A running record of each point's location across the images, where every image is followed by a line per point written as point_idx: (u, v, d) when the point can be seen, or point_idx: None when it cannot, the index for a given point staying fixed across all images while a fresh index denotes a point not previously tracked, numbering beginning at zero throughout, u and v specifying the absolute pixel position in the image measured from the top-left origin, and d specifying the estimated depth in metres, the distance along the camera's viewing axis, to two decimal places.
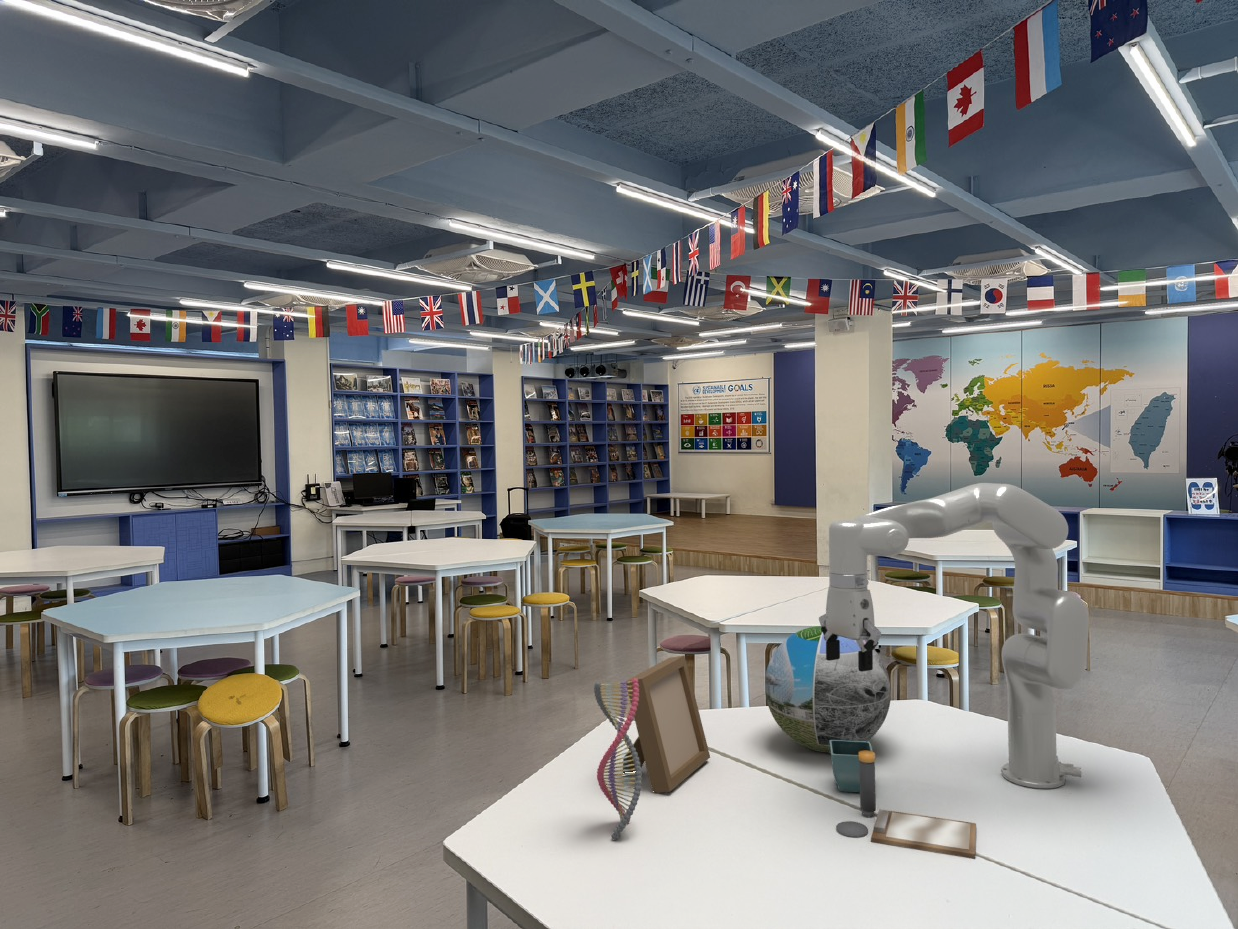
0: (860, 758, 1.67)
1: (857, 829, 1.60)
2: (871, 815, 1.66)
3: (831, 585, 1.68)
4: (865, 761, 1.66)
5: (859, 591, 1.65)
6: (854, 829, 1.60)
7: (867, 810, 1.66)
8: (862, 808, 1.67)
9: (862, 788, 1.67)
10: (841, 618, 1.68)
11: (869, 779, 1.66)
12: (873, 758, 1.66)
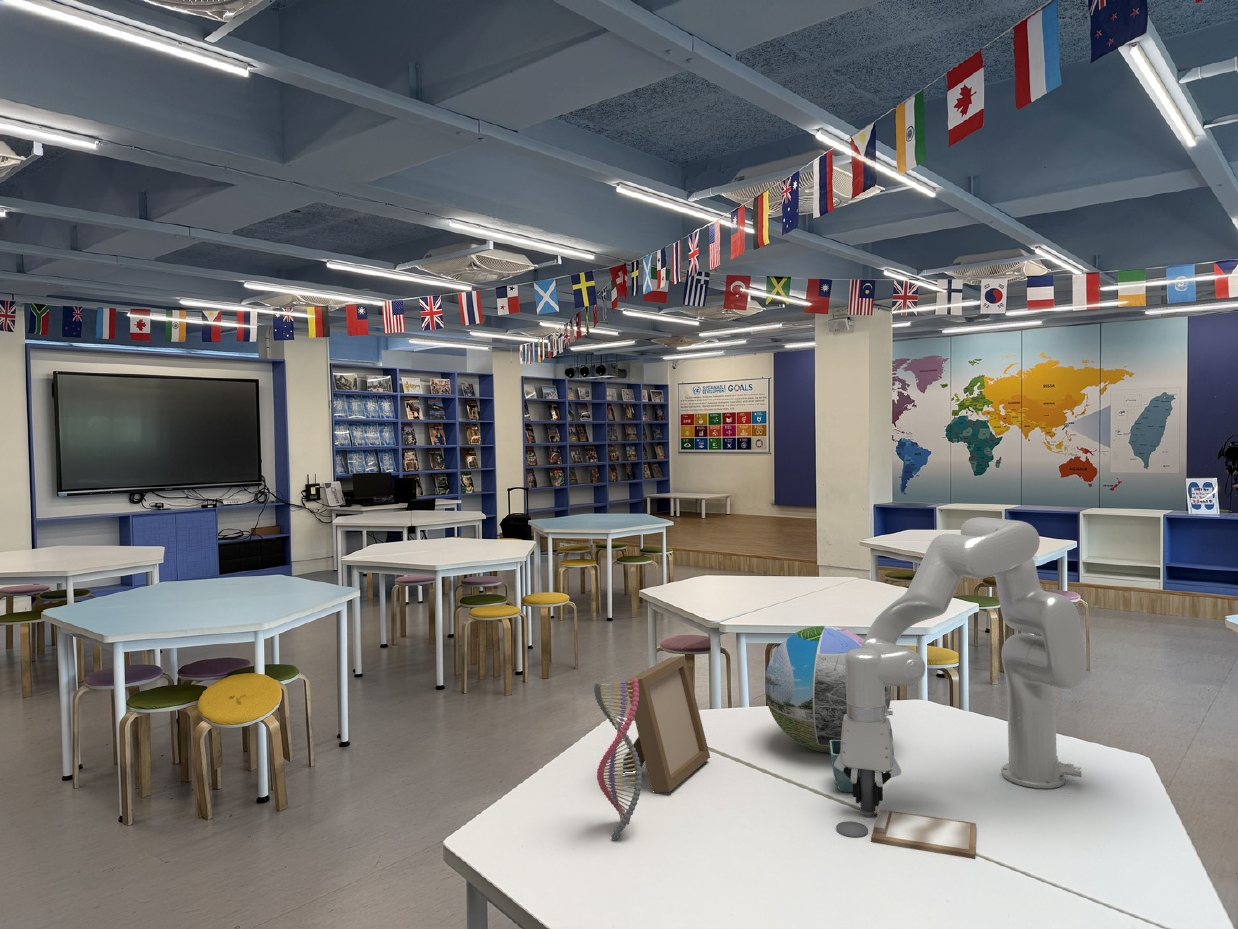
0: None
1: (857, 829, 1.60)
2: (871, 815, 1.66)
3: (858, 720, 1.64)
4: None
5: (886, 721, 1.65)
6: (854, 829, 1.60)
7: (867, 810, 1.66)
8: (862, 808, 1.67)
9: (862, 788, 1.67)
10: (868, 752, 1.65)
11: (869, 779, 1.66)
12: None
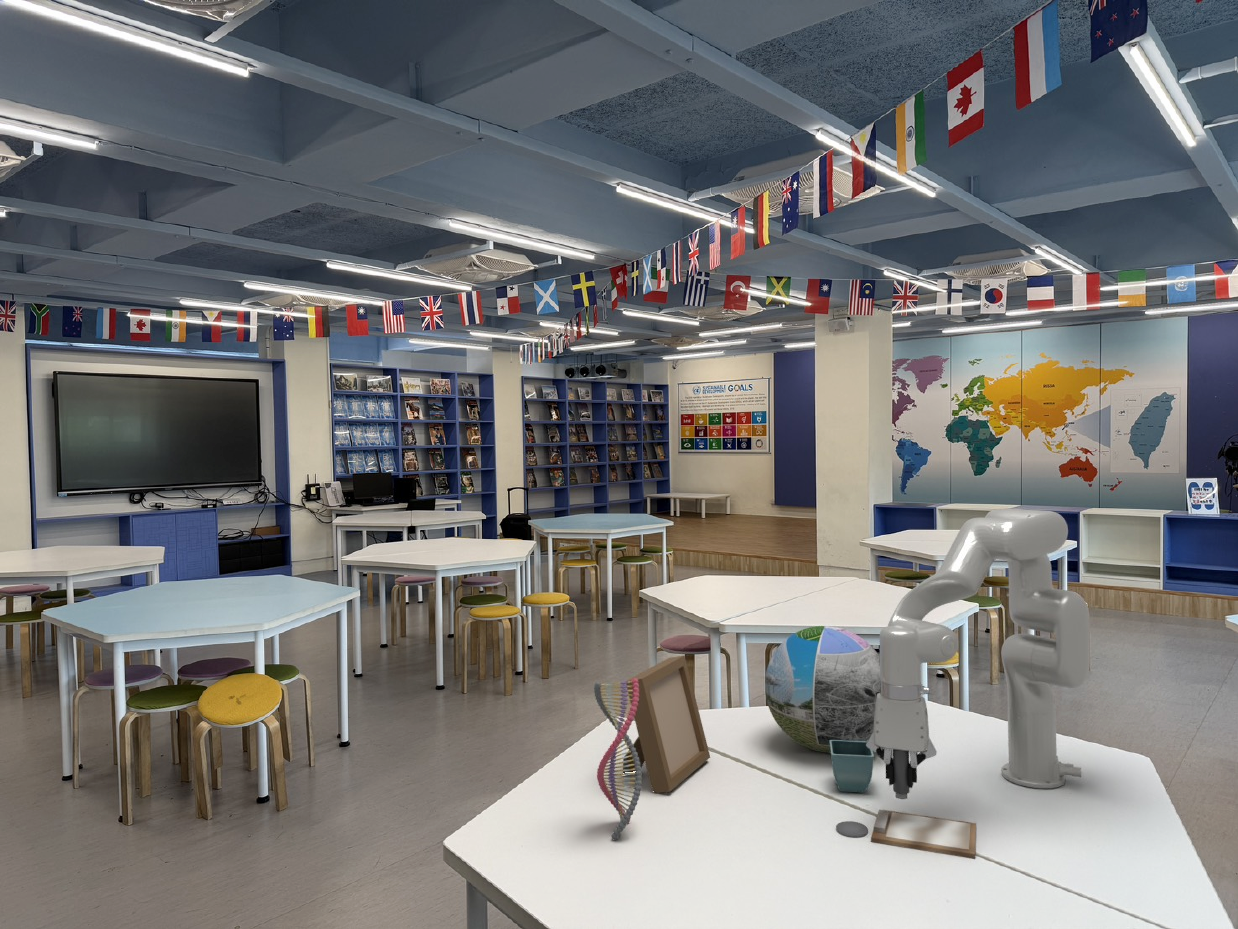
0: None
1: (857, 829, 1.60)
2: (904, 797, 1.61)
3: (893, 698, 1.59)
4: None
5: (921, 700, 1.60)
6: (854, 829, 1.60)
7: (900, 792, 1.61)
8: (895, 790, 1.62)
9: (895, 770, 1.61)
10: (903, 731, 1.60)
11: (903, 759, 1.61)
12: None
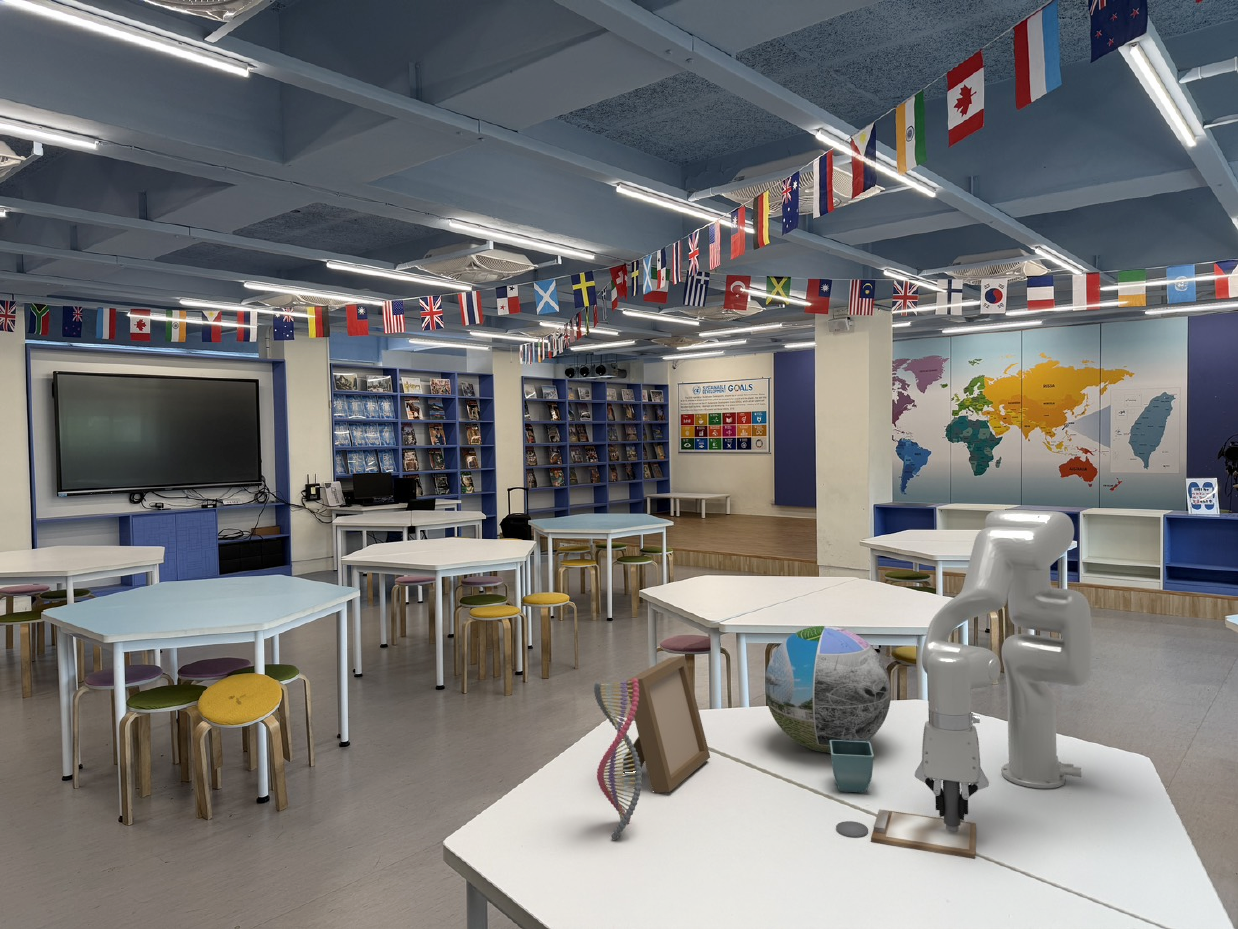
0: None
1: (857, 829, 1.60)
2: (956, 830, 1.56)
3: (943, 728, 1.53)
4: None
5: (972, 730, 1.54)
6: (854, 829, 1.60)
7: (952, 824, 1.55)
8: (946, 822, 1.56)
9: (946, 801, 1.56)
10: (954, 762, 1.54)
11: (954, 791, 1.55)
12: None
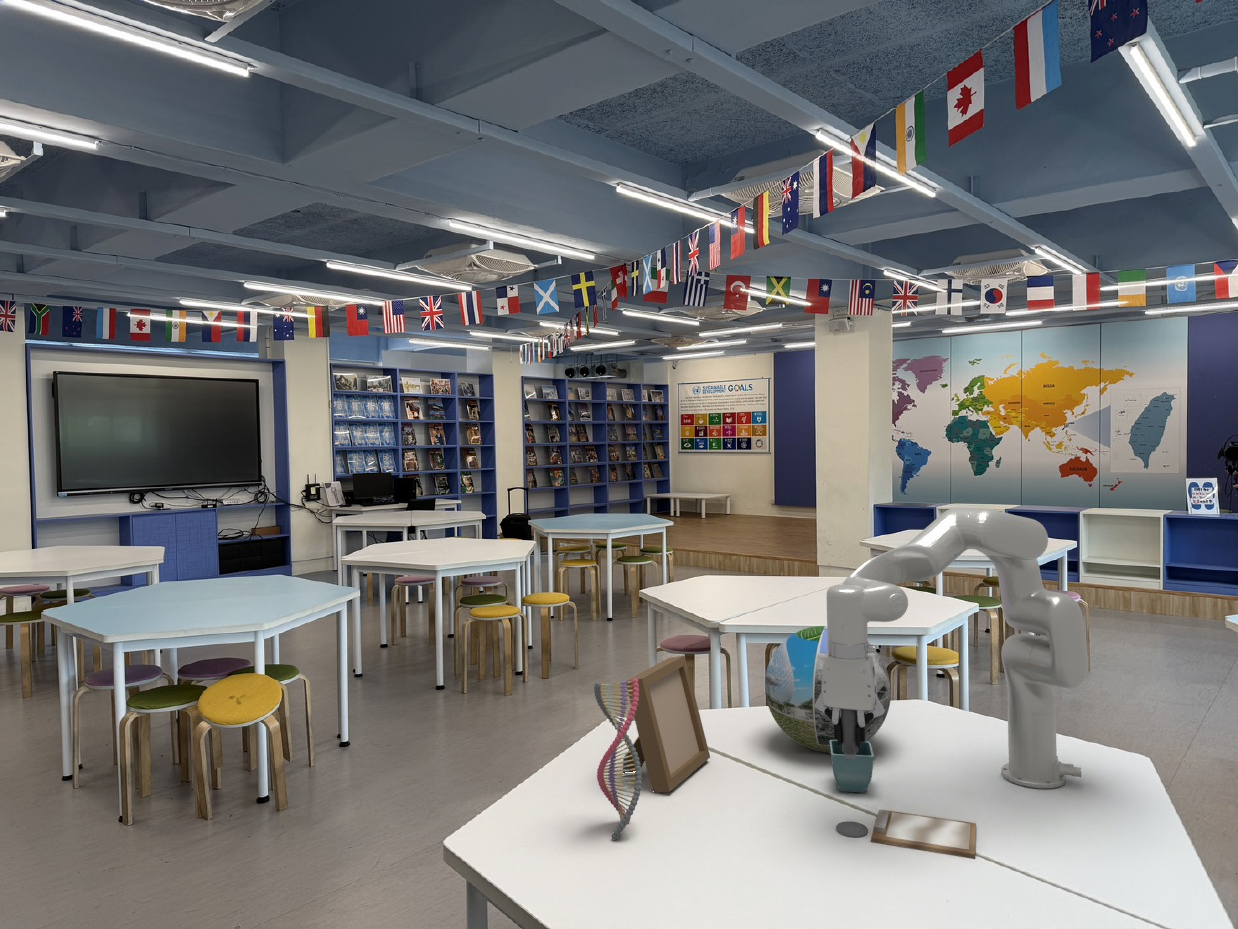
0: None
1: (857, 829, 1.60)
2: (853, 757, 1.59)
3: (840, 657, 1.57)
4: None
5: (868, 659, 1.58)
6: (854, 829, 1.60)
7: (849, 752, 1.59)
8: (844, 750, 1.60)
9: (843, 730, 1.60)
10: (850, 690, 1.58)
11: (851, 719, 1.59)
12: None
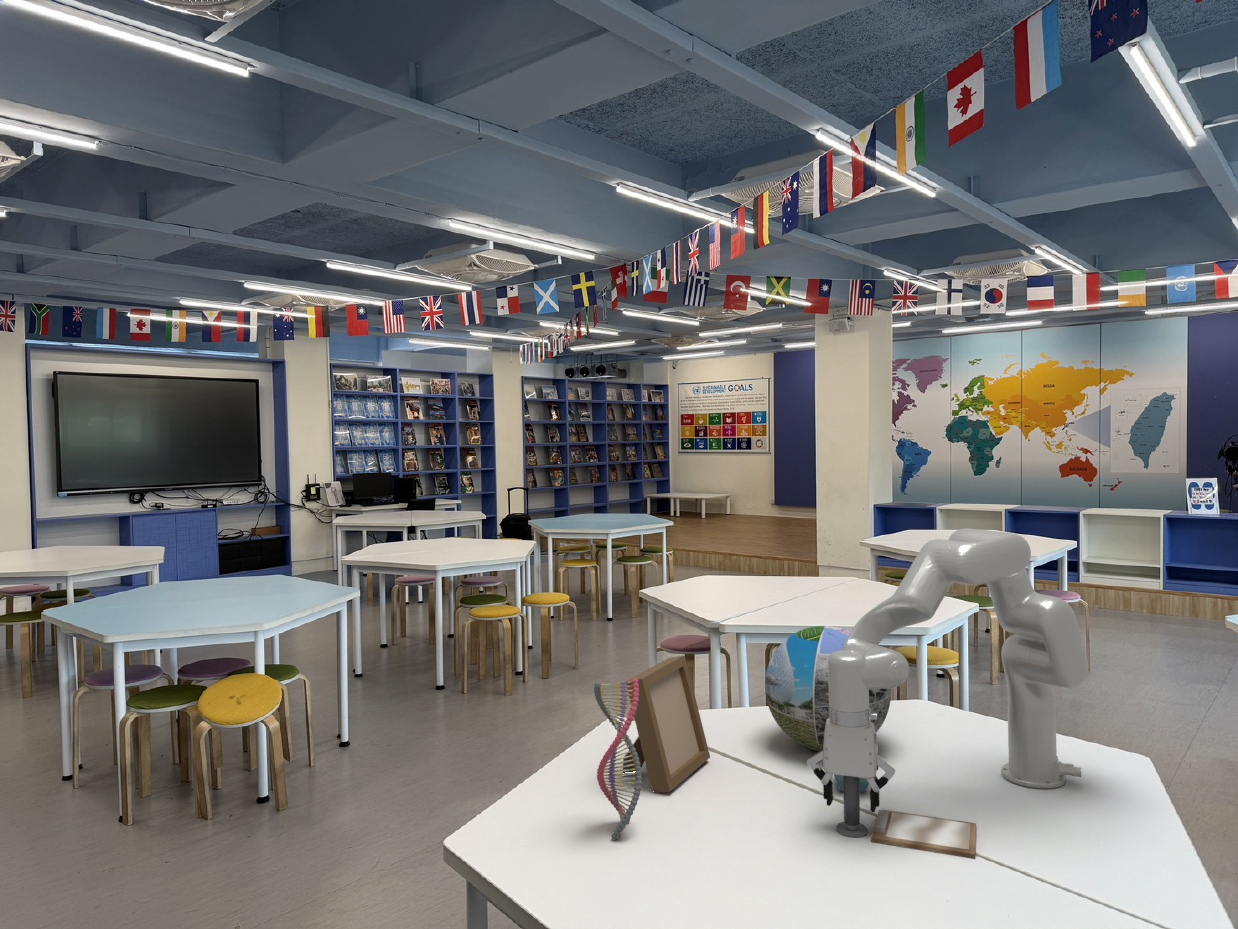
0: None
1: None
2: (855, 829, 1.60)
3: (841, 725, 1.57)
4: None
5: (870, 726, 1.58)
6: None
7: (851, 824, 1.59)
8: (845, 821, 1.60)
9: (846, 801, 1.60)
10: (851, 758, 1.58)
11: (853, 791, 1.59)
12: None
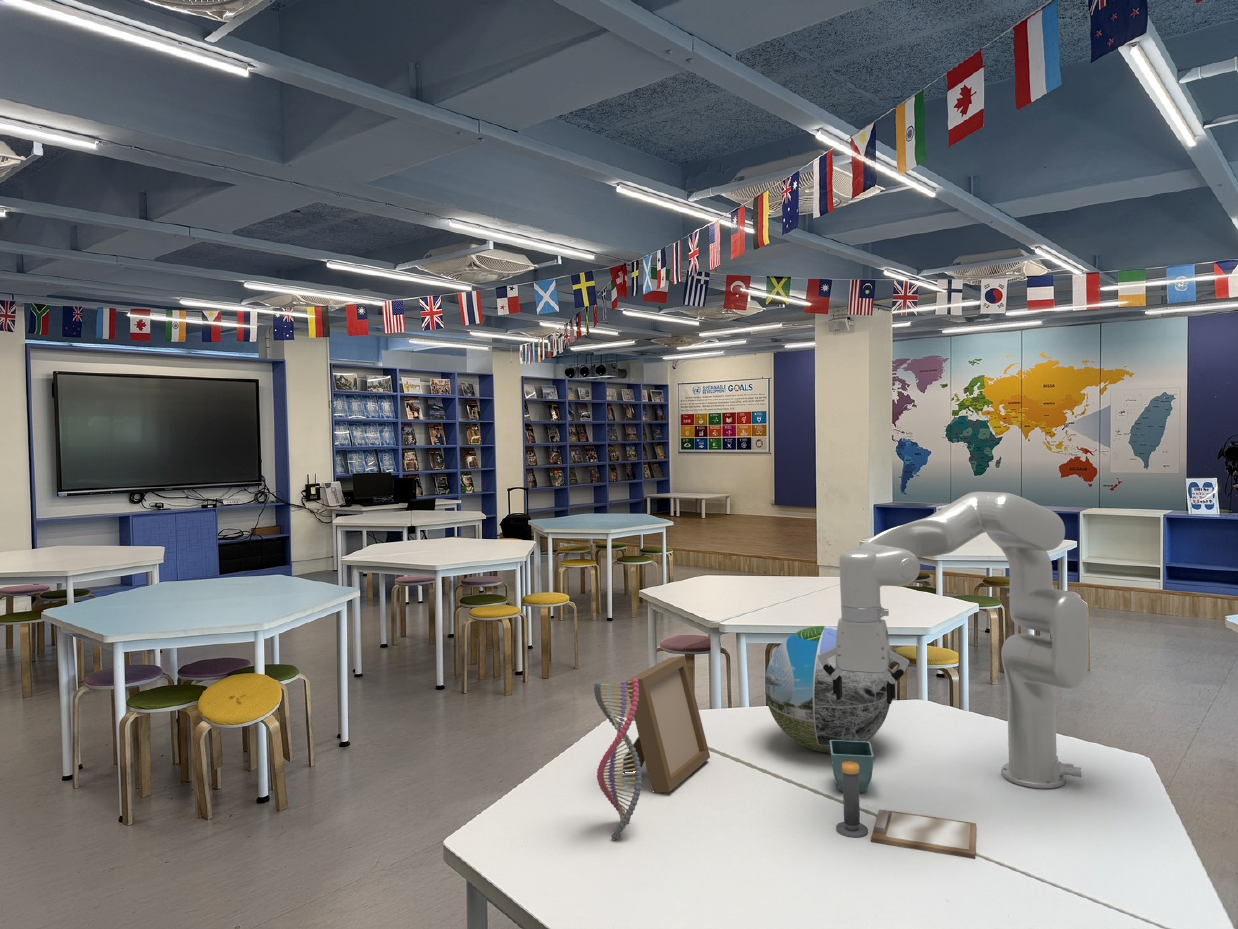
0: (843, 769, 1.60)
1: None
2: (855, 829, 1.60)
3: (854, 620, 1.60)
4: (848, 773, 1.59)
5: (882, 622, 1.61)
6: None
7: (851, 824, 1.59)
8: (845, 822, 1.60)
9: (845, 801, 1.60)
10: (864, 653, 1.61)
11: (853, 791, 1.59)
12: (857, 769, 1.59)
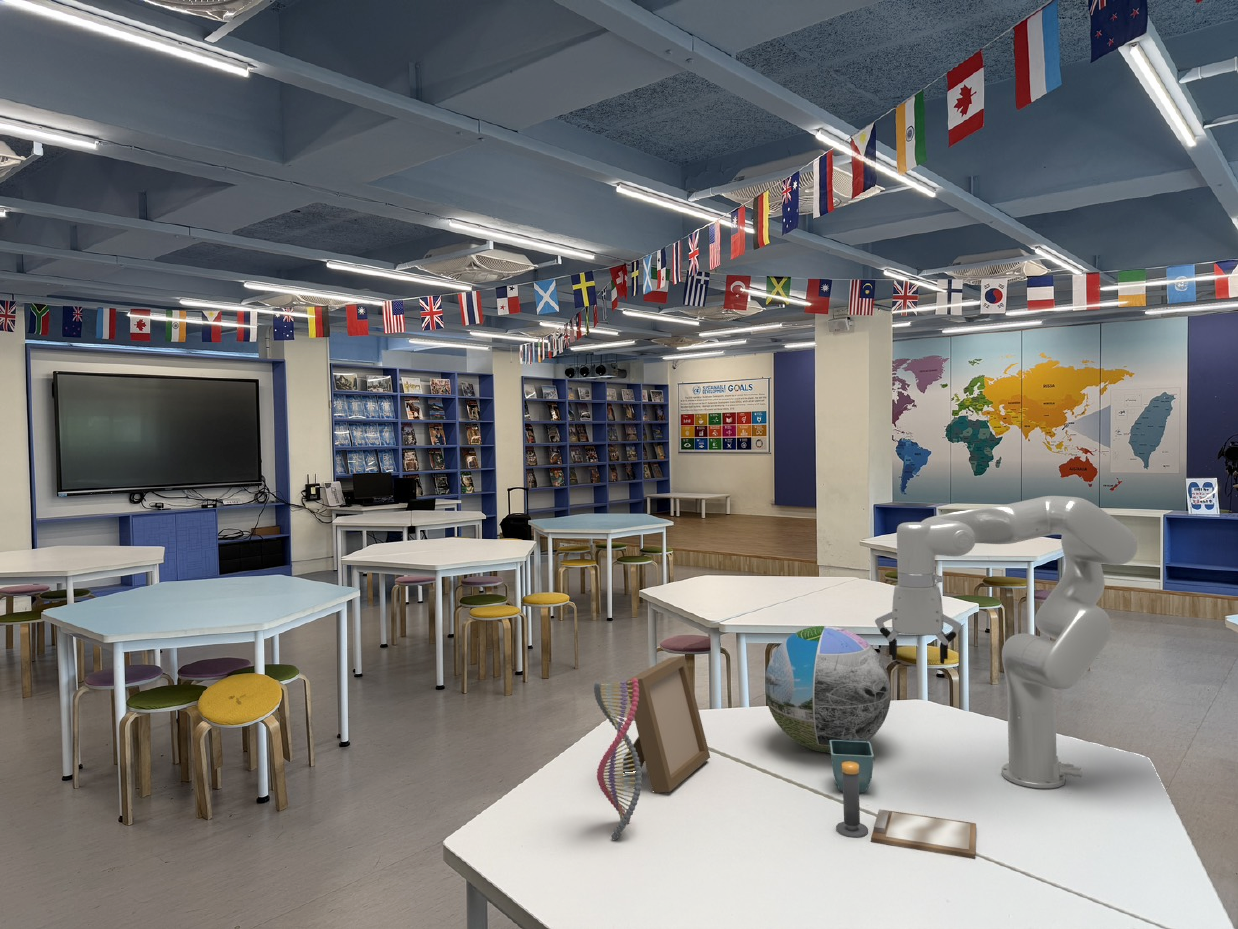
0: (843, 769, 1.60)
1: None
2: (855, 829, 1.60)
3: (910, 586, 1.73)
4: (848, 773, 1.59)
5: (936, 588, 1.74)
6: None
7: (851, 824, 1.59)
8: (845, 822, 1.60)
9: (845, 801, 1.60)
10: (919, 616, 1.74)
11: (853, 791, 1.59)
12: (857, 769, 1.59)
